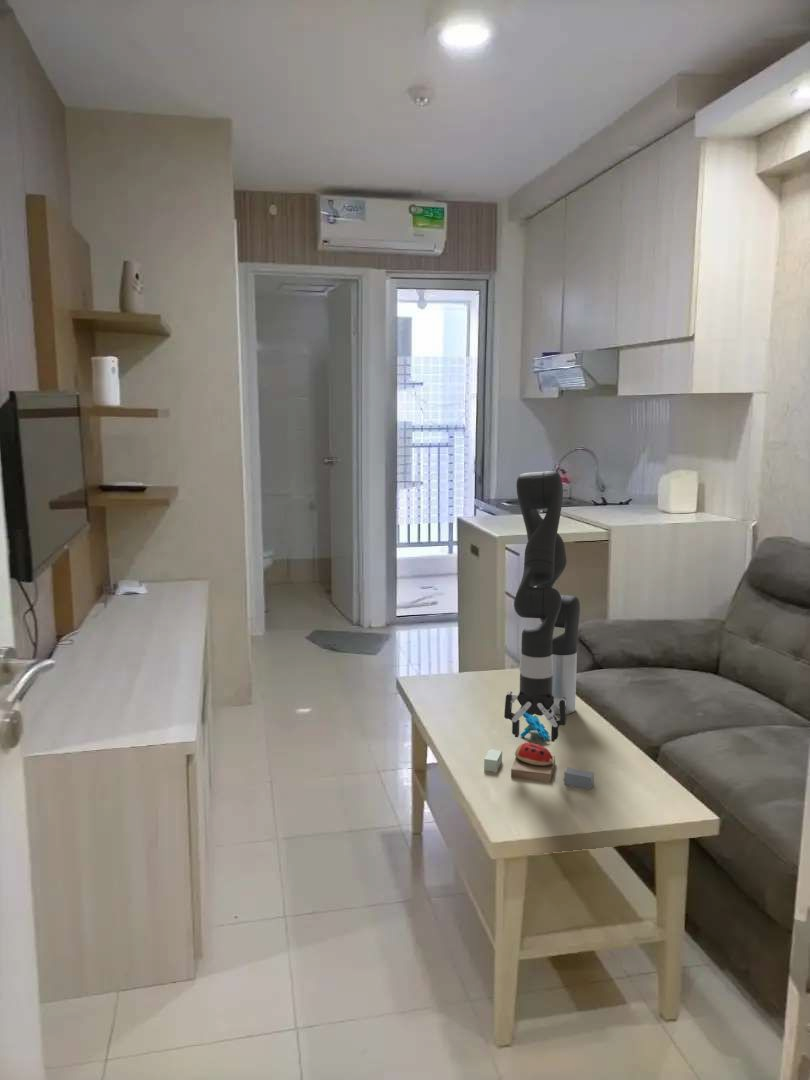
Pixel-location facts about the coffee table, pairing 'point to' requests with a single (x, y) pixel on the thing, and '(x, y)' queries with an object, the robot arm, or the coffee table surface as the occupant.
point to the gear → (534, 726)
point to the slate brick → (579, 778)
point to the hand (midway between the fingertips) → (534, 738)
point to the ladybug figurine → (533, 754)
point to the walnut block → (532, 770)
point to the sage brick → (493, 760)
